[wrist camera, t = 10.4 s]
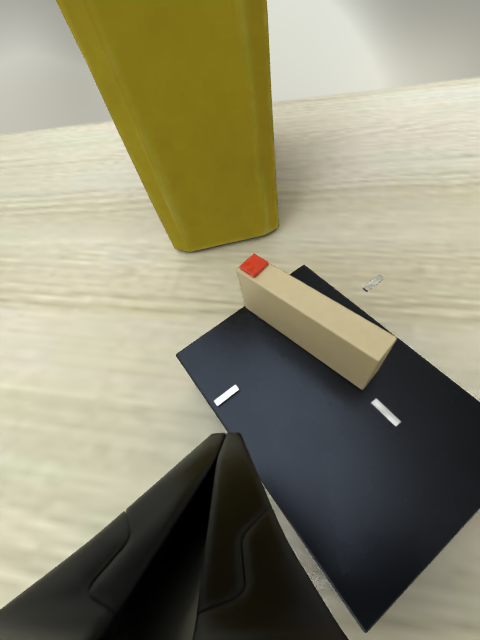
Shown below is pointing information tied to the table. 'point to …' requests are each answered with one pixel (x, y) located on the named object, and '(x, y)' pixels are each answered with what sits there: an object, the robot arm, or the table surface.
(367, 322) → the tan slab
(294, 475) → the panel
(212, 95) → the yellow tapered bin
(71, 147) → the table surface
